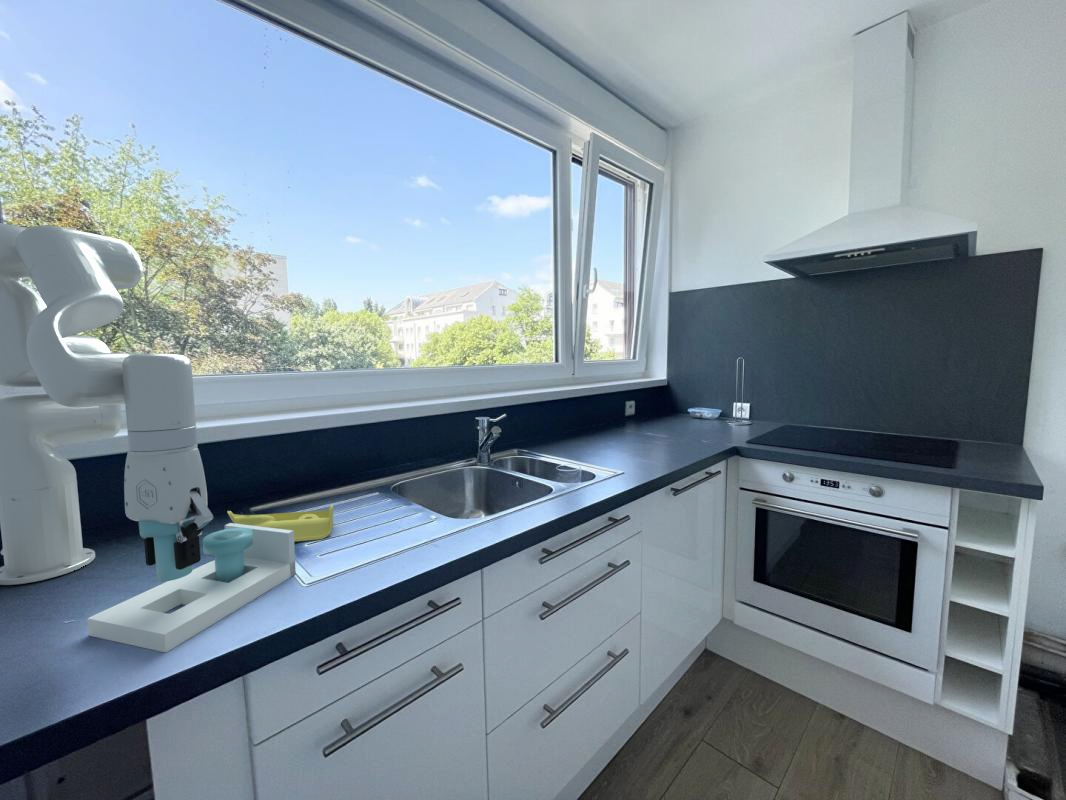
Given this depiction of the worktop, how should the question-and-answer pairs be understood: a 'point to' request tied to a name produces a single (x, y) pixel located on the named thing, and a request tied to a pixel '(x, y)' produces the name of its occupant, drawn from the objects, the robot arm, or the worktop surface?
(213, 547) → the teal flanged peg
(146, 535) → the teal round plug
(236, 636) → the worktop surface
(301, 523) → the plastic component
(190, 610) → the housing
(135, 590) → the worktop surface
